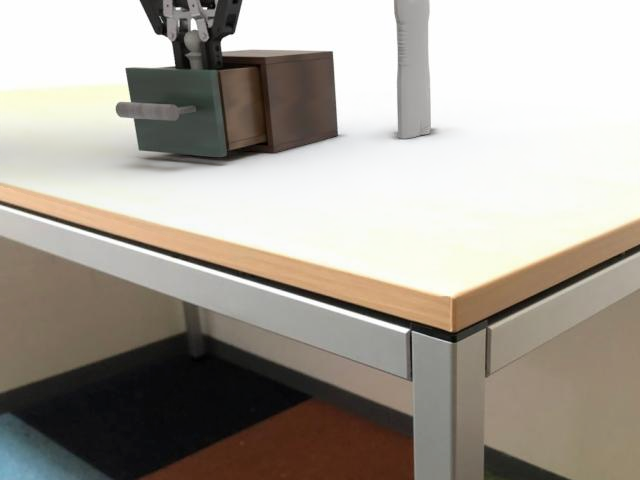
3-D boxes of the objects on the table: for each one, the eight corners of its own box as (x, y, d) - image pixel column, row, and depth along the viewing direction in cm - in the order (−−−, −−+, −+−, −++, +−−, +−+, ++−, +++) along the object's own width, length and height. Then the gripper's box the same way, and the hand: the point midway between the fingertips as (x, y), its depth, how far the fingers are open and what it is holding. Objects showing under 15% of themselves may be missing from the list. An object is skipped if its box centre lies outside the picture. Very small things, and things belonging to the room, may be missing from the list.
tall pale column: (415, 139, 96) (412, -52, 88) (386, 138, 98) (379, -51, 89) (441, 128, 106) (440, -46, 97) (414, 127, 107) (410, -45, 98)
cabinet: (274, 153, 88) (265, 56, 83) (189, 146, 92) (176, 54, 88) (338, 135, 100) (333, 51, 96) (260, 130, 104) (252, 49, 100)
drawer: (192, 164, 76) (179, 73, 73) (108, 157, 80) (92, 70, 77) (291, 139, 91) (285, 62, 88) (216, 134, 95) (207, 60, 92)
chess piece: (174, 107, 83) (162, 29, 80) (198, 102, 87) (189, 28, 84) (210, 108, 82) (200, 30, 79) (234, 103, 86) (225, 29, 83)
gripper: (256, -100, 77) (272, 76, 84) (150, -93, 82) (174, 73, 89) (208, -109, 71) (230, 82, 78) (97, -101, 76) (127, 78, 83)
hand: (200, 76), depth 83 cm, fingers closed on chess piece, 3 cm apart
